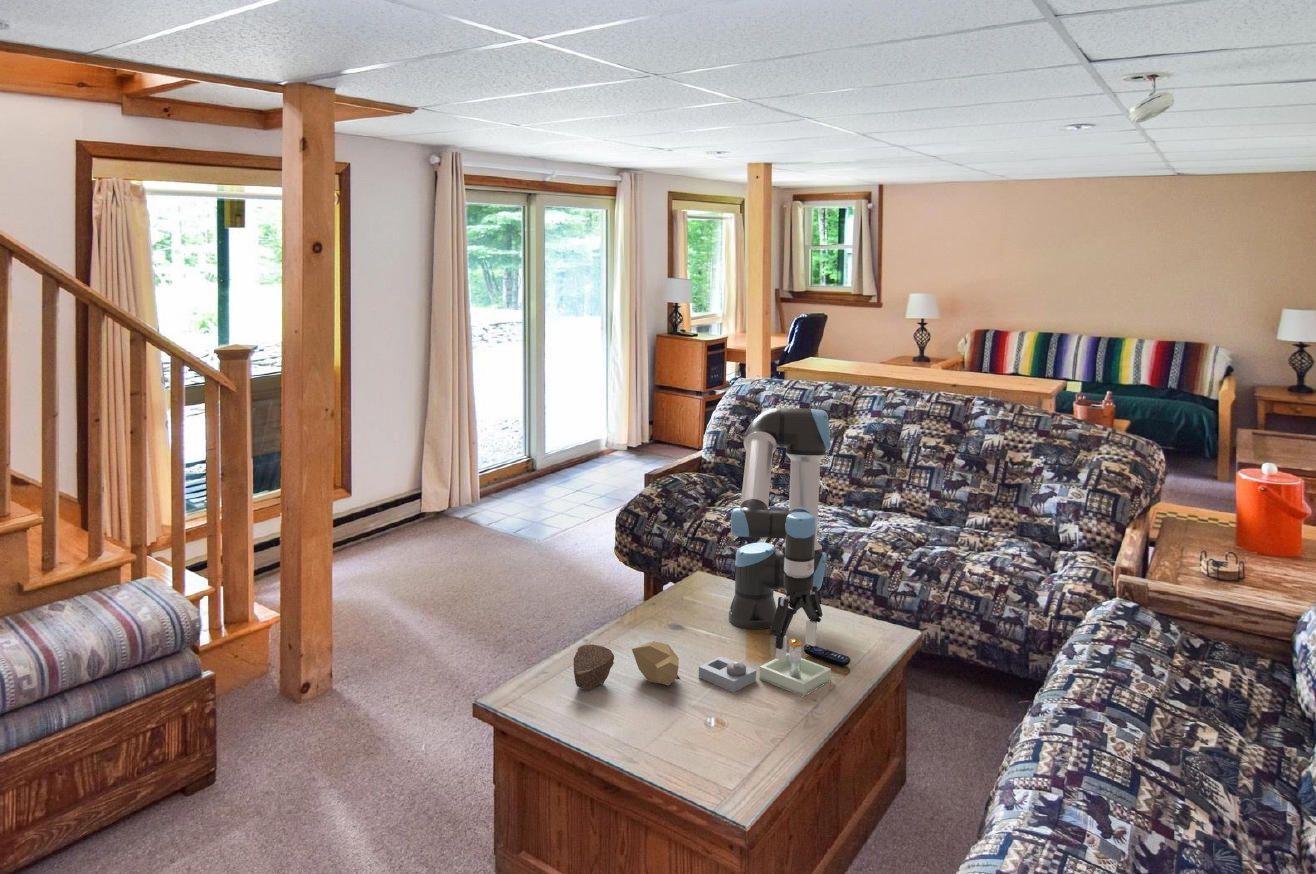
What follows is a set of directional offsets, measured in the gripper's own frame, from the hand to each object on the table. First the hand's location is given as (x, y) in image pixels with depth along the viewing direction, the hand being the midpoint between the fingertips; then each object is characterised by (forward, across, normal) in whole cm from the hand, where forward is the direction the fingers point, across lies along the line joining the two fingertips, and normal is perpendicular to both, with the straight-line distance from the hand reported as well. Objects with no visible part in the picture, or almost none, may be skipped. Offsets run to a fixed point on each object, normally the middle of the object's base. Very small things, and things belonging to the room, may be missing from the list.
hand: (795, 652), depth 244 cm
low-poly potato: (+8, -26, +24) cm, 36 cm away
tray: (+8, 0, 0) cm, 8 cm away
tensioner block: (+8, -12, +13) cm, 19 cm away
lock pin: (+7, 0, 0) cm, 7 cm away
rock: (+8, -40, +35) cm, 54 cm away
